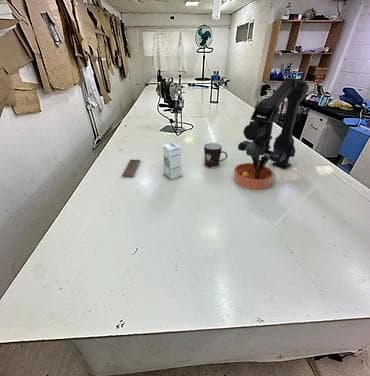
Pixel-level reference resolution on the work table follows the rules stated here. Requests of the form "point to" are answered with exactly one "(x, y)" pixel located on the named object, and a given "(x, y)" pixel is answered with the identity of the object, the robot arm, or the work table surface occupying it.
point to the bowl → (252, 177)
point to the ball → (245, 174)
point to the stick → (257, 170)
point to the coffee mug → (212, 154)
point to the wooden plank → (131, 168)
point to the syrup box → (172, 160)
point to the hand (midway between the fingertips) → (258, 169)
